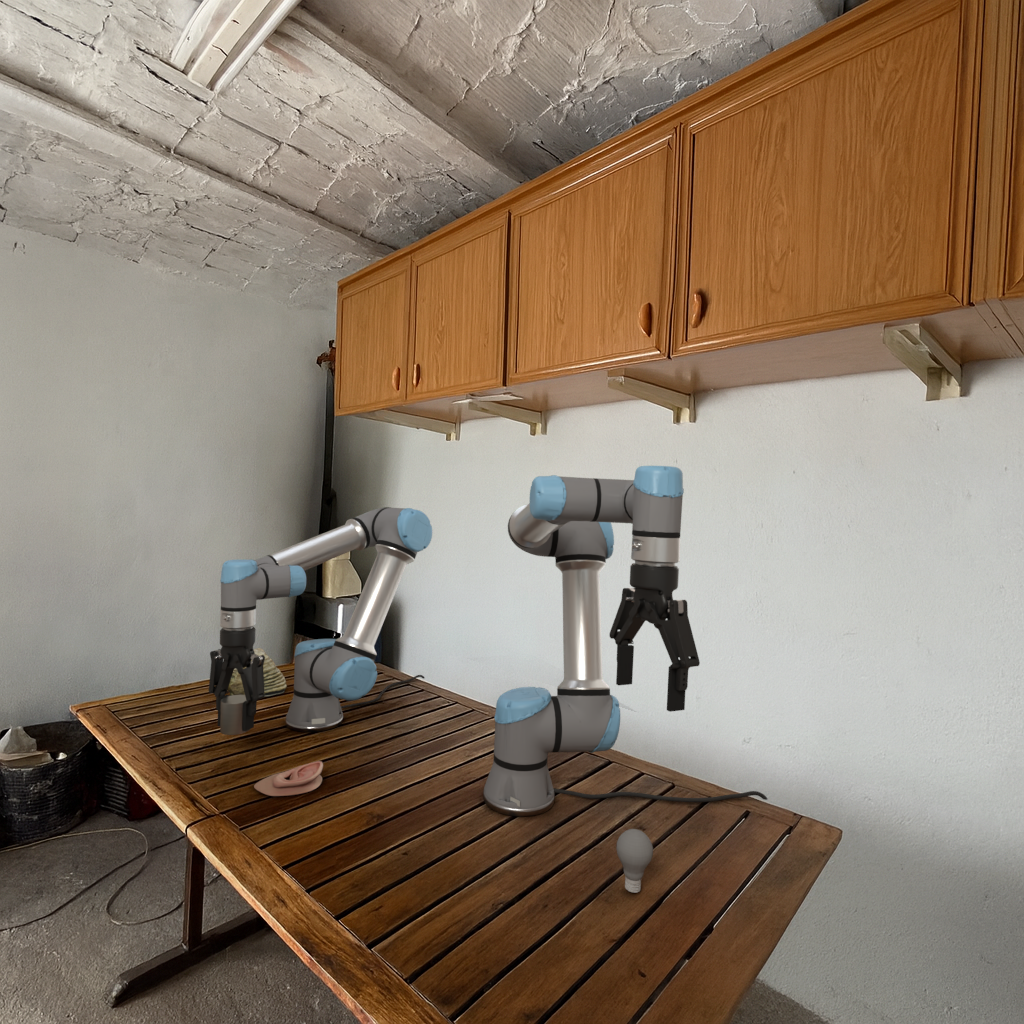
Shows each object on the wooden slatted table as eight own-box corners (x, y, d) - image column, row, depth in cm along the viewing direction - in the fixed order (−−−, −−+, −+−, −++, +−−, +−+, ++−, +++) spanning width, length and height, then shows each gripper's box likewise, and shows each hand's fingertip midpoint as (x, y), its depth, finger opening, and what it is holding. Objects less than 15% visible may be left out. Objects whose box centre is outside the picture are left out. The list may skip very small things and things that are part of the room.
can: (230, 723, 150) (231, 693, 149) (255, 725, 149) (256, 695, 149) (214, 733, 143) (214, 702, 143) (240, 736, 142) (241, 704, 142)
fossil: (218, 695, 195) (220, 647, 195) (278, 685, 208) (279, 640, 207) (228, 703, 189) (230, 653, 188) (289, 692, 201) (290, 645, 201)
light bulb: (610, 879, 108) (613, 822, 108) (644, 879, 109) (647, 822, 109) (619, 902, 102) (622, 840, 102) (655, 901, 103) (658, 840, 103)
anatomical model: (246, 773, 134) (276, 753, 145) (245, 792, 134) (276, 770, 145) (303, 782, 131) (330, 760, 142) (302, 801, 131) (329, 777, 142)
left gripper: (191, 626, 145) (189, 725, 146) (261, 635, 139) (258, 739, 139) (216, 620, 152) (214, 715, 153) (283, 628, 146) (281, 727, 146)
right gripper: (593, 555, 110) (587, 676, 111) (687, 573, 88) (679, 725, 88) (629, 555, 113) (623, 673, 114) (729, 572, 91) (721, 720, 91)
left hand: (235, 726), depth 146 cm, fingers closed on can, 6 cm apart
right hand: (648, 696), depth 101 cm, fingers open, 13 cm apart
